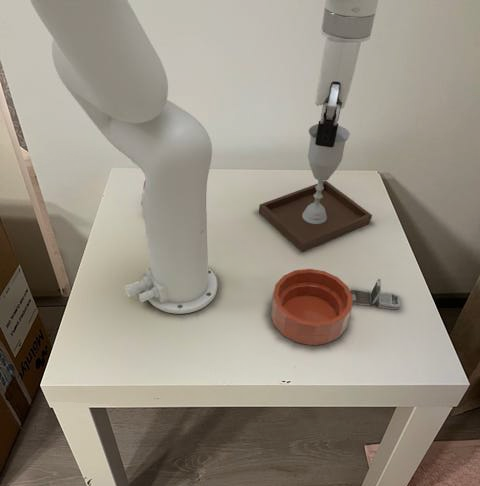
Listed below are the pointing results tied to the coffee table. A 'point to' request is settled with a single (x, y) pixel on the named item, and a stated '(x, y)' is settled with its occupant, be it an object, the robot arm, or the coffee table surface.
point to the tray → (308, 234)
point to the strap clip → (376, 297)
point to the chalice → (323, 169)
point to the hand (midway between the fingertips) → (326, 132)
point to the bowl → (311, 306)
